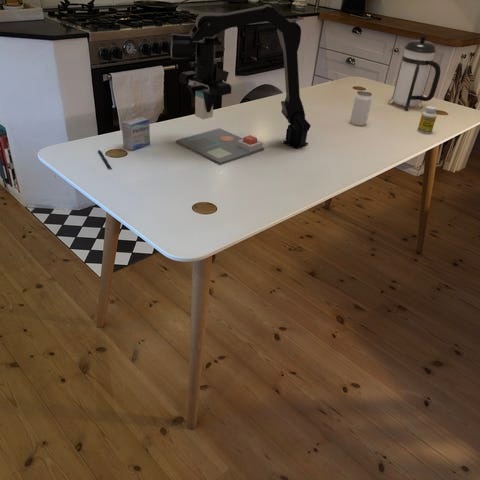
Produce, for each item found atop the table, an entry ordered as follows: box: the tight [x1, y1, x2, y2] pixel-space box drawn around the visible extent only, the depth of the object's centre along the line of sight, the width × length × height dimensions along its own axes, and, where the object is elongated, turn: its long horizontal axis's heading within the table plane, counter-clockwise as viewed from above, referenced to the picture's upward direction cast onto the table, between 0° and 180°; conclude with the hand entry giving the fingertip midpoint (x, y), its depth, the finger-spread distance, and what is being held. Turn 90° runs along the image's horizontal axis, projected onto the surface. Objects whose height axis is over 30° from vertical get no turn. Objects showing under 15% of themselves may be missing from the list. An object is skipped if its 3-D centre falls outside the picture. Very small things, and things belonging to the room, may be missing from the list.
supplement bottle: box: [417, 105, 438, 135], centre depth 179 cm, size 5×5×10 cm
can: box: [349, 90, 373, 127], centre depth 181 cm, size 6×6×12 cm
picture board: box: [175, 127, 265, 166], centre depth 155 cm, size 22×20×3 cm
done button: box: [243, 134, 258, 145], centre depth 153 cm, size 3×3×2 cm
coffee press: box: [388, 34, 441, 112], centre depth 199 cm, size 17×16×30 cm
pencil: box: [97, 149, 113, 170], centre depth 141 cm, size 1×1×15 cm
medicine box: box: [121, 116, 151, 152], centre depth 148 cm, size 8×4×9 cm, turn 143°
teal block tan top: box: [194, 88, 214, 120], centre depth 147 cm, size 4×4×8 cm
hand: (204, 110), depth 149 cm, fingers closed on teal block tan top, 4 cm apart
